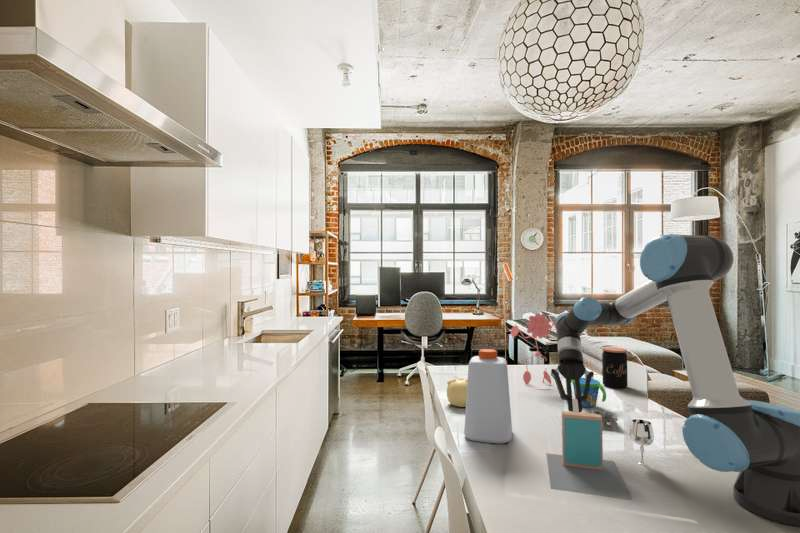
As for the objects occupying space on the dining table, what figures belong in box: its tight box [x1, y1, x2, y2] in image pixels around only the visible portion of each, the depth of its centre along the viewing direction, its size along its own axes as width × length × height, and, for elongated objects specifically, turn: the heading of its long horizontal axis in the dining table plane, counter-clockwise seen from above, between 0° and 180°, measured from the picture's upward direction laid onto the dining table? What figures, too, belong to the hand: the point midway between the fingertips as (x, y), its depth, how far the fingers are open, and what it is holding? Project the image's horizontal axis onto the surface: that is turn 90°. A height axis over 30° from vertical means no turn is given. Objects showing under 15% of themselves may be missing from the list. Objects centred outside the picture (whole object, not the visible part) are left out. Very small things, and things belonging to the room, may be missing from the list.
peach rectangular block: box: [561, 410, 604, 470], centre depth 113 cm, size 3×10×14 cm, turn 73°
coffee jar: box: [601, 346, 629, 390], centre depth 197 cm, size 11×11×18 cm
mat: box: [545, 452, 634, 501], centre depth 108 cm, size 21×18×1 cm
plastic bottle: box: [463, 348, 513, 445], centre depth 136 cm, size 15×15×28 cm
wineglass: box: [629, 418, 655, 466], centre depth 114 cm, size 6×6×12 cm
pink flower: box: [510, 312, 558, 391], centre depth 198 cm, size 15×26×35 cm, turn 94°
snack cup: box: [571, 377, 607, 409], centre depth 168 cm, size 16×10×10 cm
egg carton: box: [591, 409, 619, 431], centre depth 146 cm, size 11×8×4 cm
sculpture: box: [446, 377, 468, 408], centre depth 168 cm, size 12×12×11 cm
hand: (576, 421), depth 121 cm, fingers closed
